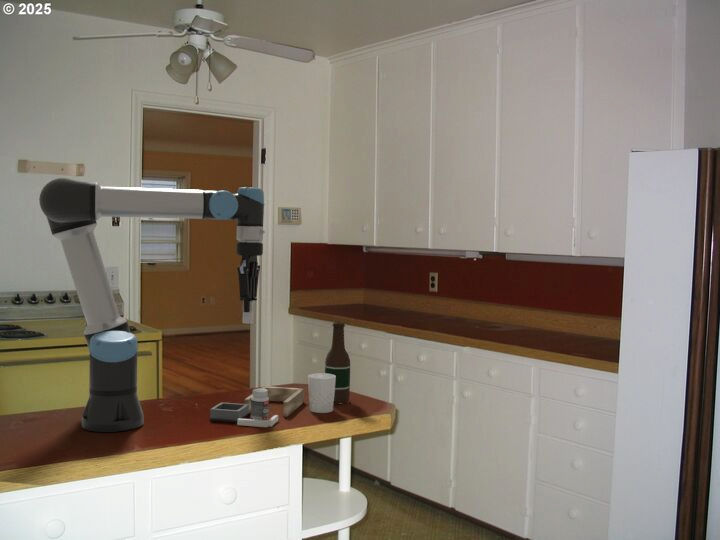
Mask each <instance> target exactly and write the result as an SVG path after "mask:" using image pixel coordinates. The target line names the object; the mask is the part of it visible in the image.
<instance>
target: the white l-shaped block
mask: <svg viewBox="0 0 720 540" xmlns="http://www.w3.org/2000/svg"><path fill="white" fill-rule="evenodd" d="M277 422H279V415H278V414H274V415H272V416H271V418H268V421H266V420H253V419H251V418H244V419H240V418H239V419H237V422H236V425H237V426H244V427H245V426H246V427H247V426H248V427H257V428H268V427H271V428H272V427H273V426H274V425H275V424H276V423H277Z"/></svg>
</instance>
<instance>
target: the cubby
mask: <svg viewBox="0 0 720 540" xmlns="http://www.w3.org/2000/svg"><path fill="white" fill-rule="evenodd" d="M260 389H267V390H268V396H267V397H268V398H269V402H280V403H281V402H282V403H283V407H282V408H283V411H282V417H289V416H290V415H291V414H292V413H293V412H294V411H296V410H297V409H298V408H299V407H300V406H301V405H302V404H303V403H304V401H305V399H304V398H305V397H304V396H305V388H298V387H297V388H296V387H282V386H281V387H280V386H267V385H265V386H263V387H261V388H260ZM252 397H253V393H252V394H250V395H249V396H247V397H246V398H244V404H249V414H251V398H252Z"/></svg>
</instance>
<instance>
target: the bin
mask: <svg viewBox="0 0 720 540" xmlns="http://www.w3.org/2000/svg"><path fill="white" fill-rule="evenodd" d="M209 412H210V413H209V414H210V415H209V416H210V417H209V420H210V421H215V422H226V423H228V422H229V423H237V419H239V418H240V419H246V418H247V417H249V414H250V413H249V404H245V403H237V402H236V403H233V402H220V403H218V404H216V405H214V406H213V407H211V408H210V410H209Z"/></svg>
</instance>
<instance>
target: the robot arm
mask: <svg viewBox="0 0 720 540" xmlns="http://www.w3.org/2000/svg"><path fill="white" fill-rule="evenodd" d="M264 196H265V194H264V190H263V189H262V188H259V187H246V186H244V187H238V189H237V193H232V192H230V191H229V190H224V189H220V190H203V189H180V188H179V189H177V188H174V189H173V188H148V187H125V186H123V187H122V186H102V185H101V184H100V183H98V182H96V181H83V180H76V179H71V178H66V177H58V178H56V179H55V178H54V179H52V180H51V181H49V182H48V183H46V184H45V185H44V186H43V188H42V189H41V191H40V194H39V199H38V200H39V201H38V202H39V207H40V210H41V211H42V213H43V214H44V215H45V217H46V219H47V222H48V225H49V229H50V231H51V235H52V236H53V238H57V240H59V241H60V242H61V245H62V248H63V249H62V250H63V253H64V256H65V259H66V262H67V264H68V268H69V271H70V275H71V277H72V281H73V284H74V287H75V289H76V290H75V291H76V294H77V297H78V300H79V303H80V305H81V309H82V313H83V315H84V318H85V322H86V325H87V326H86V327H85V329H84V331H83V335H84V338H85V342H86V345H87V348H88V352H89V375H88V376H89V377H88V378H89V380H88V382H89V389H88V390H89V391H88V393H89V395H88V399H87V402H86V405H85V408H84V410H83V413H82V416H81V428H82V429H83V430H86V431H89V432H95V433H116V432H124V431H129V430H133V429H137V428H139V427H141V426H143V425H144V422H145V421H144V420H145V419H144V412H143V409H142V406H141V403H140V399H139V397H138V351H139V343H138V338H137V336H136V335H135V334H134V333H132V332H131V330H130V326H129V323H128V320H127V319H126V318H124V317H122V316H121V315H120V314H119V309H118V307H117V303H116V300H115V298H114V297H115V296H114V294H113V291H112V288H111V284H110V281H109V277H108V275H107V272H106V268H105V265H104V261H103V259H102V255H101V251H100V249H99V245H98V242H97V240H96V236H95V233H94V231H95V228H96V227H97V226H98V222H97V221H98V220H99V219H100V218H102V217H105V218H106V217H108V218H109V217H110V218H111V217H112V218H149V219H150V218H151V219H153V218H154V219H155V218H156V219H158V218H159V219H193V220H194V219H196V220H197V219H198V220H205V221H207V220H215V221H216V220H217V221H236V240H237V241H238V242H236V251H235V252H236V255H238V256H241V261H240V265H239V266H237V274H238V286H239V301H241V302H242V320H241V321H242V324H246V325H247V324H251V325H252V324H254V305H255V304H254V301H257V300H258V297H257V295H258V294H257V293H258V285H259V278H260V276H259V275H260V272H261V265H260V264H259V263H258V257H259V256H262V255H263V253H264V251H263V250H264V243H263V242H262V241H264V234H265V233H266V232H265V230H264V215H265V213H264V212H265V197H264Z"/></svg>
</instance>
